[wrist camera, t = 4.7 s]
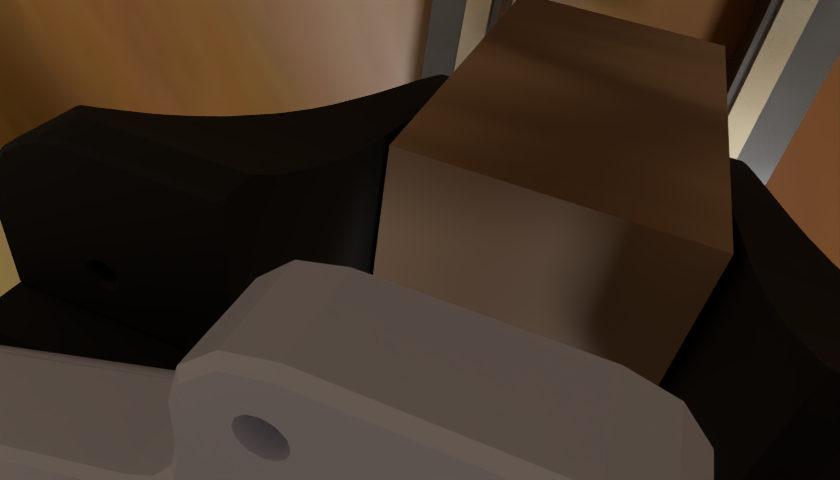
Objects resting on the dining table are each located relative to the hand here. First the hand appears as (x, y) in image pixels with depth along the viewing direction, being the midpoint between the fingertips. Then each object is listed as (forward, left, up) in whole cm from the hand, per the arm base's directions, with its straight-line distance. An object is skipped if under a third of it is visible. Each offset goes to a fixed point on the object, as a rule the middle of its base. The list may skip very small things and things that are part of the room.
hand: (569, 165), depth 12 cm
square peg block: (0, 0, -3) cm, 3 cm away
